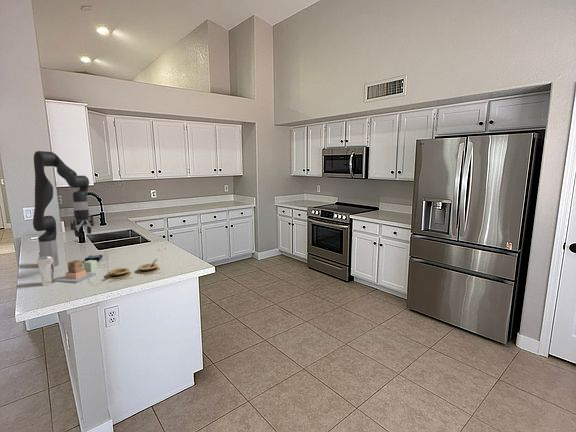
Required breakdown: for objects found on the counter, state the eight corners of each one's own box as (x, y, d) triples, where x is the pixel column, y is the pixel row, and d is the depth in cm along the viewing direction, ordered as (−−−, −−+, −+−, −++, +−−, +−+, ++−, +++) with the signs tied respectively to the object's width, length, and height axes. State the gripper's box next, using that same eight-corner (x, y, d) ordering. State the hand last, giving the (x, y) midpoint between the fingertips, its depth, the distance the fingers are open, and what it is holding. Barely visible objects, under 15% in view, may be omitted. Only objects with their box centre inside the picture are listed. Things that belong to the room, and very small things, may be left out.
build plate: (55, 281, 177) (54, 274, 176) (76, 273, 191) (75, 267, 190) (76, 283, 174) (75, 276, 174) (96, 274, 188) (95, 268, 187)
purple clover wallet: (84, 258, 212) (89, 254, 222) (84, 262, 212) (89, 259, 222) (99, 256, 214) (103, 253, 225) (99, 261, 215) (104, 257, 225)
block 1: (68, 272, 180) (67, 262, 179) (75, 269, 185) (74, 260, 184) (75, 273, 179) (74, 263, 178) (83, 270, 184) (82, 260, 183)
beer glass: (59, 281, 177) (56, 256, 175) (50, 285, 170) (47, 259, 168) (46, 281, 177) (43, 256, 174) (37, 286, 170) (33, 259, 168)
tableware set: (156, 265, 208) (156, 257, 207) (163, 273, 192) (162, 264, 191) (105, 273, 192) (104, 264, 191) (107, 283, 176) (107, 273, 175)
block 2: (84, 271, 195) (83, 262, 194) (90, 269, 200) (90, 260, 199) (91, 271, 194) (90, 262, 193) (97, 269, 199) (96, 260, 198)
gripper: (85, 207, 195) (88, 232, 198) (65, 210, 181) (67, 237, 184) (95, 207, 194) (98, 233, 196) (76, 210, 180) (78, 237, 182)
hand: (83, 235), depth 190 cm, fingers open, 8 cm apart
